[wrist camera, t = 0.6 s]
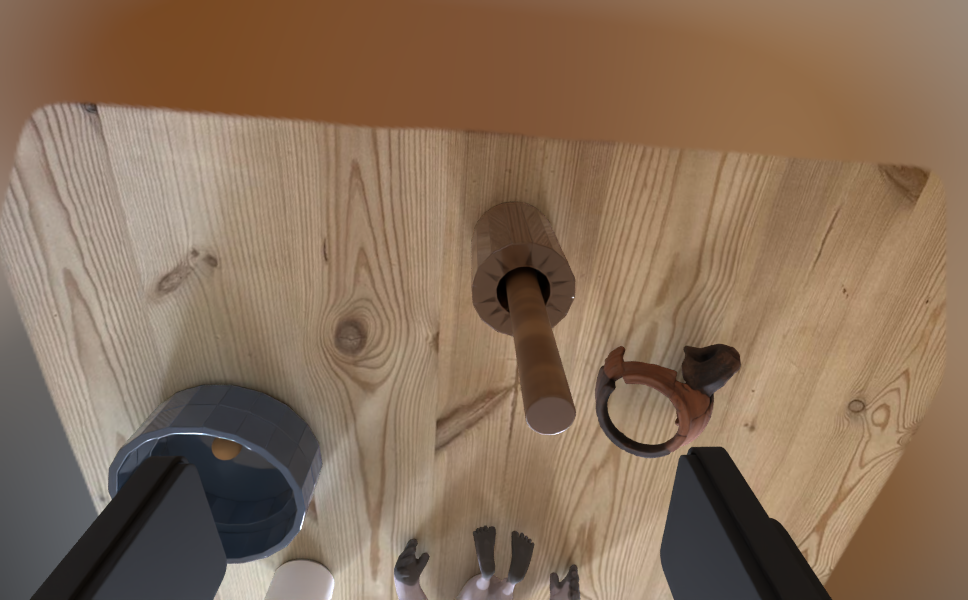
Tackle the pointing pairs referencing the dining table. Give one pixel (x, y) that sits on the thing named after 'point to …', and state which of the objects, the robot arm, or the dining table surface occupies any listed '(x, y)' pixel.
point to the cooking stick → (537, 356)
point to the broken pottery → (669, 392)
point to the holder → (517, 263)
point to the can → (301, 581)
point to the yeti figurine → (483, 572)
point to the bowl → (234, 463)
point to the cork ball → (225, 448)
